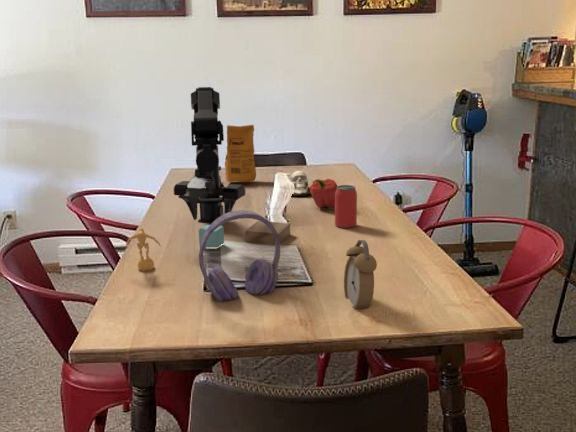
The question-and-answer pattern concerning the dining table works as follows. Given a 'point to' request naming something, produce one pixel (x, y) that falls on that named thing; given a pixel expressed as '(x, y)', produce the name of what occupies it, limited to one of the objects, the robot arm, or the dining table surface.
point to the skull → (300, 183)
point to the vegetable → (324, 192)
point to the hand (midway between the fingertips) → (210, 220)
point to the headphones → (259, 272)
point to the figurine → (144, 262)
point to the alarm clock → (359, 275)
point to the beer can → (345, 206)
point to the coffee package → (240, 154)
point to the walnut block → (267, 232)
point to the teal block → (212, 236)
